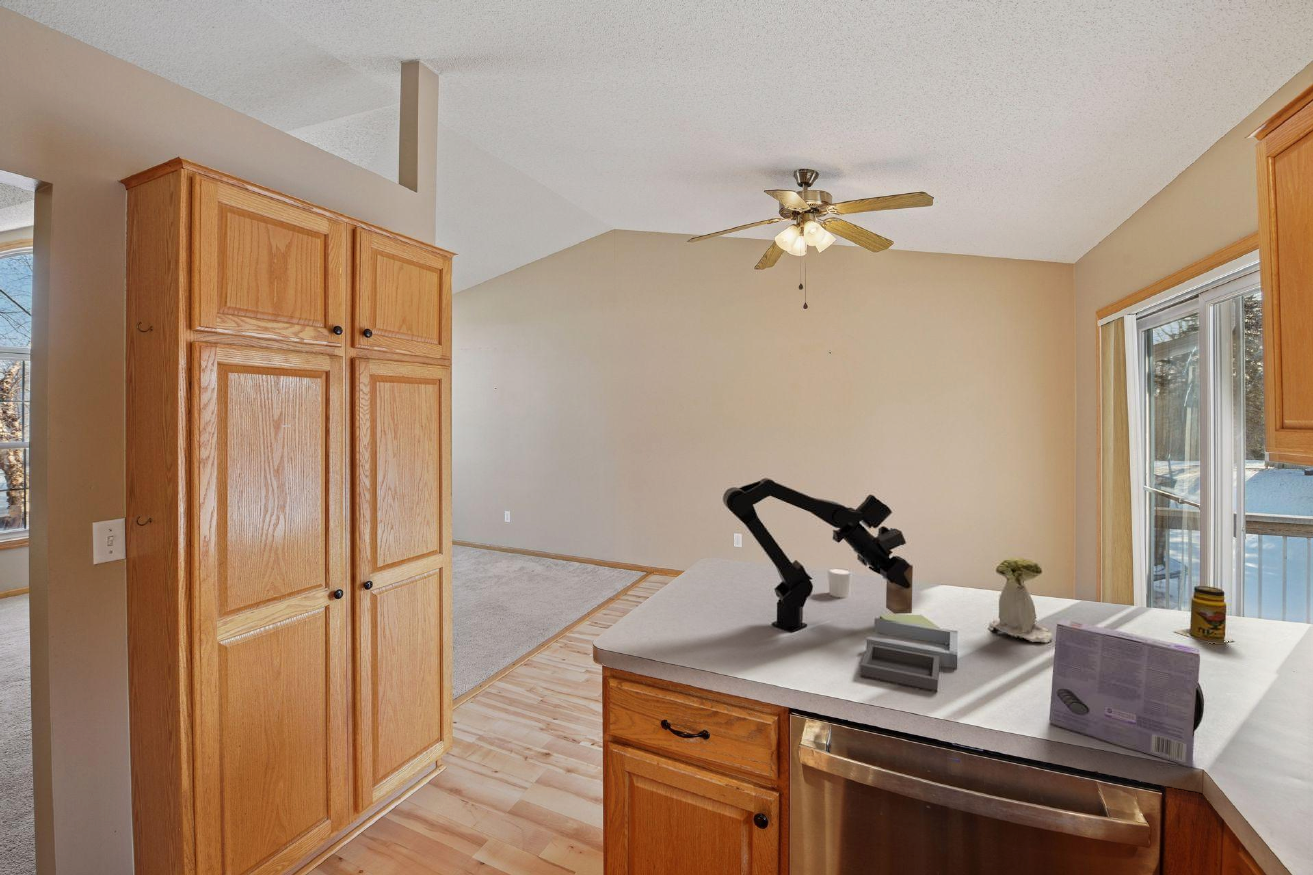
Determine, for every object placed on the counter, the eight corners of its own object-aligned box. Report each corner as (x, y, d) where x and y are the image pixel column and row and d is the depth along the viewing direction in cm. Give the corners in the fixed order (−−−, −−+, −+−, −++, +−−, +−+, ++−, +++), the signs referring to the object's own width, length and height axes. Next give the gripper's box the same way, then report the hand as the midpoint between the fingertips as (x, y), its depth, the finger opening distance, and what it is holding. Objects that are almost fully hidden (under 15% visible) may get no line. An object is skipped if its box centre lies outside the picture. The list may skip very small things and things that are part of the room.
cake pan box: (1201, 757, 90) (1206, 645, 89) (1202, 772, 86) (1207, 655, 85) (1053, 714, 103) (1056, 616, 102) (1048, 725, 99) (1051, 623, 98)
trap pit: (860, 676, 117) (860, 664, 117) (868, 654, 127) (868, 643, 127) (937, 692, 110) (937, 679, 110) (939, 668, 121) (939, 656, 121)
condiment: (1214, 645, 133) (1216, 594, 133) (1172, 631, 142) (1174, 583, 141) (1235, 641, 136) (1237, 591, 135) (1192, 628, 144) (1194, 581, 143)
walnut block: (894, 613, 143) (894, 565, 143) (886, 607, 148) (886, 561, 147) (911, 613, 143) (912, 565, 143) (903, 607, 148) (904, 560, 147)
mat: (899, 633, 140) (899, 631, 140) (880, 617, 151) (880, 615, 151) (943, 632, 140) (943, 630, 140) (921, 616, 151) (921, 614, 151)
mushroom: (1037, 648, 131) (1040, 568, 130) (979, 630, 142) (981, 556, 141) (1060, 637, 138) (1062, 561, 137) (1002, 621, 148) (1004, 550, 148)
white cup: (854, 598, 166) (855, 574, 166) (830, 598, 166) (831, 574, 166) (847, 591, 173) (847, 568, 173) (824, 590, 173) (824, 567, 173)
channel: (866, 652, 129) (866, 638, 129) (875, 629, 142) (875, 617, 142) (957, 668, 120) (957, 654, 120) (957, 643, 134) (957, 630, 134)
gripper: (902, 526, 135) (947, 572, 136) (869, 512, 154) (909, 552, 155) (868, 559, 135) (913, 605, 136) (840, 541, 154) (880, 582, 155)
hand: (904, 584), depth 145 cm, fingers closed on walnut block, 4 cm apart
